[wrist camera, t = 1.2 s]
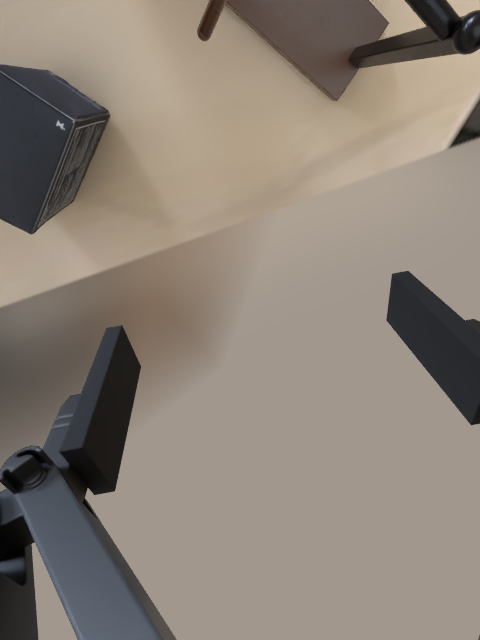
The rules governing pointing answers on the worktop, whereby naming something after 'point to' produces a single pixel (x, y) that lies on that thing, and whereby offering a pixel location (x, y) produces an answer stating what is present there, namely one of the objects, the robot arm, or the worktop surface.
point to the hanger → (210, 18)
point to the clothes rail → (354, 35)
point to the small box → (43, 144)
